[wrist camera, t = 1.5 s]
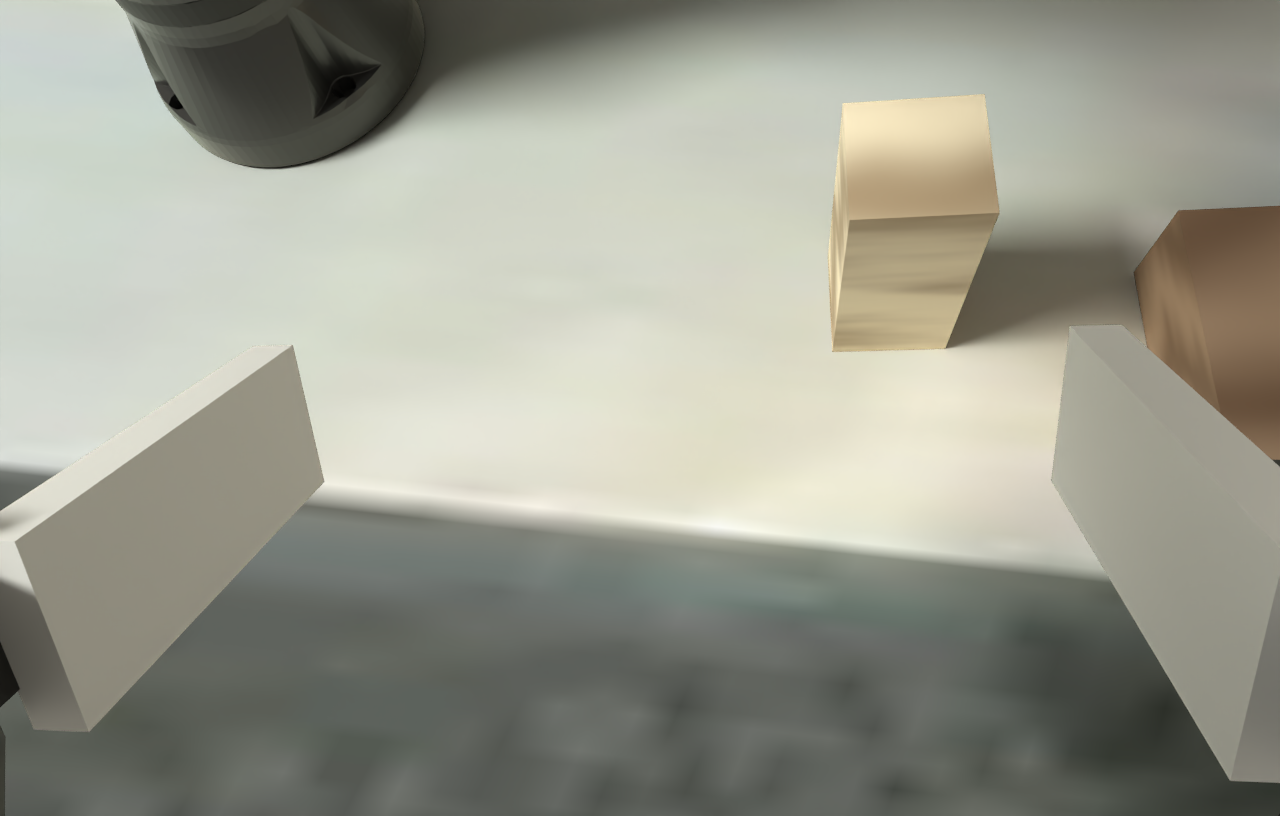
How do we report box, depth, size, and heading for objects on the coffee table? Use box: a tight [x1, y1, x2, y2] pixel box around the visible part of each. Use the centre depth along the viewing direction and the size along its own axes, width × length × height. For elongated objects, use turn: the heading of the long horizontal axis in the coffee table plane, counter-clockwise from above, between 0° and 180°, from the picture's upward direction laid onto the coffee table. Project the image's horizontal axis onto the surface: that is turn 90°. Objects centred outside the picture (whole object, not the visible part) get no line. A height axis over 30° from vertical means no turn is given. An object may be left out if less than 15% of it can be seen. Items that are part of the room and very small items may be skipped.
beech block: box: [828, 94, 999, 352], centre depth 38 cm, size 5×5×11 cm
